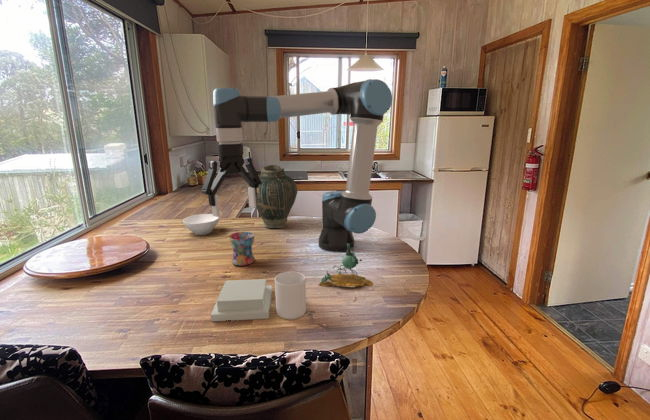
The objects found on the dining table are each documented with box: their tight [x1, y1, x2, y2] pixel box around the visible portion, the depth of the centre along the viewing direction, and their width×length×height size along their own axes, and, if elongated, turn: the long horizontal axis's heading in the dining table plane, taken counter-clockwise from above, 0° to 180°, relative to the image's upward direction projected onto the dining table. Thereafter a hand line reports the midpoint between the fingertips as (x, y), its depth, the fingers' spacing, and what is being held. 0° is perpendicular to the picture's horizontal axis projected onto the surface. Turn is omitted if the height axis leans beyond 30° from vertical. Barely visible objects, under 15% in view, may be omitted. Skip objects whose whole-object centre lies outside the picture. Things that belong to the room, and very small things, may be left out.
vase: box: [255, 164, 298, 229], centre depth 166 cm, size 22×22×30 cm
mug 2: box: [274, 270, 307, 320], centre depth 95 cm, size 12×8×10 cm
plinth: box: [210, 278, 273, 322], centre depth 97 cm, size 15×15×5 cm
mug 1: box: [227, 231, 256, 267], centre depth 127 cm, size 12×9×11 cm
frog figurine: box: [318, 243, 374, 288], centre depth 109 cm, size 10×18×15 cm, turn 84°
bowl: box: [182, 213, 220, 236], centre depth 160 cm, size 16×16×7 cm
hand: (235, 211), depth 107 cm, fingers open, 13 cm apart
